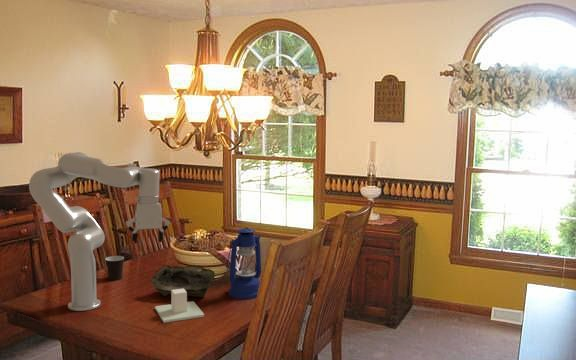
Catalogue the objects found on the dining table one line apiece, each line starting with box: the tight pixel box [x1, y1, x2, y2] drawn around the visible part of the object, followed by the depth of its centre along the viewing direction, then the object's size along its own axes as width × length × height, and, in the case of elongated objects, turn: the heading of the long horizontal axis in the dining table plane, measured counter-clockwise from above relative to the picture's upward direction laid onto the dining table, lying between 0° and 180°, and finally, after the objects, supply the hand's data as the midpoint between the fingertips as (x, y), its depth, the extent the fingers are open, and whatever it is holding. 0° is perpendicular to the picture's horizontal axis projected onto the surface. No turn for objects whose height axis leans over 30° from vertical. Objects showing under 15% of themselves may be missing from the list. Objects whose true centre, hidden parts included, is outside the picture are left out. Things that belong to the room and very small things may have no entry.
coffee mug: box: [105, 255, 125, 282], centre depth 255 cm, size 12×9×10 cm
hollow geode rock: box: [150, 264, 216, 298], centre depth 234 cm, size 28×13×15 cm
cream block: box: [170, 288, 188, 313], centre depth 212 cm, size 5×5×8 cm
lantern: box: [226, 227, 262, 300], centre depth 236 cm, size 17×15×30 cm
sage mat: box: [154, 300, 205, 324], centre depth 213 cm, size 16×16×1 cm
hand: (147, 242), depth 211 cm, fingers open, 9 cm apart
